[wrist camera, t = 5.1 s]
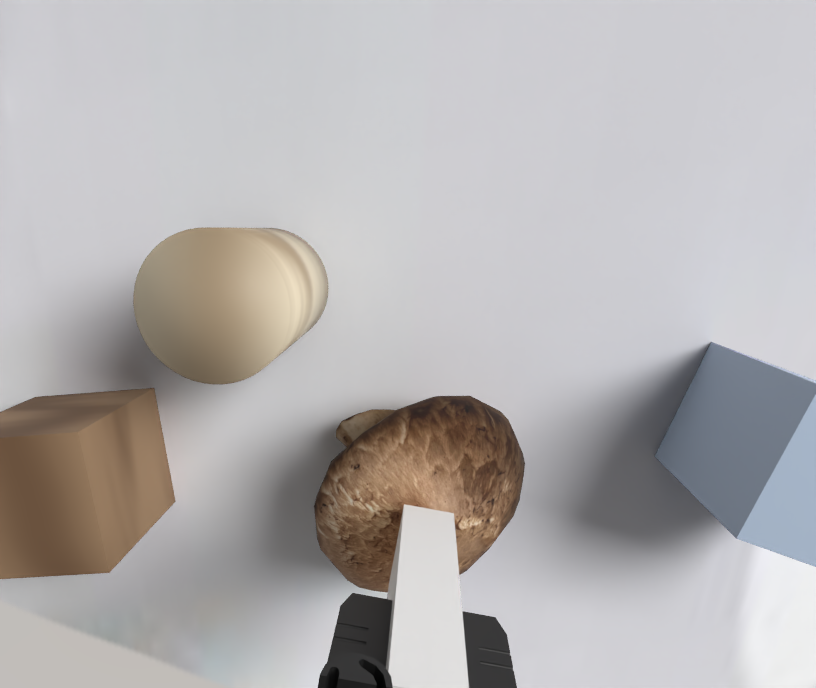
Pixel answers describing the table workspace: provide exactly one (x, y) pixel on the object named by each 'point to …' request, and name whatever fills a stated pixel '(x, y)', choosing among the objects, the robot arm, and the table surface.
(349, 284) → the table surface
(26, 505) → the walnut block
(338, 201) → the table surface
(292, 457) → the table surface
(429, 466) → the mushroom
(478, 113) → the table surface
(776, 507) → the slate block
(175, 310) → the birch cylinder
